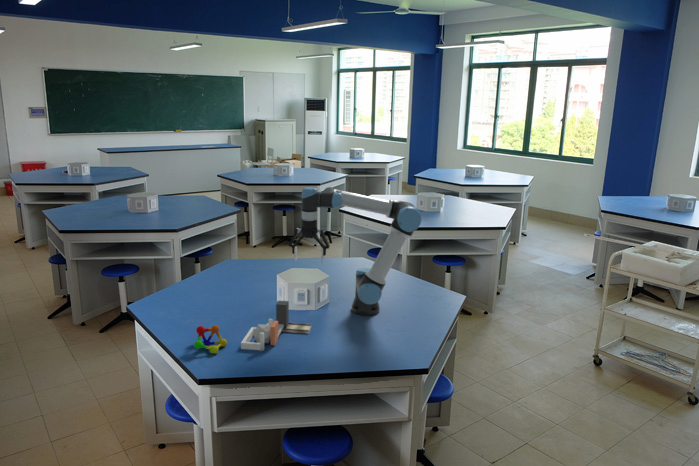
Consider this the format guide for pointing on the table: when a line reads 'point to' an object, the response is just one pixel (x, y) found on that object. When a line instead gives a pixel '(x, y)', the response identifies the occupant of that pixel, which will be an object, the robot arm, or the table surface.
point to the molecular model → (207, 343)
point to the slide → (297, 328)
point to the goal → (254, 345)
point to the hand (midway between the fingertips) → (309, 260)
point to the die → (265, 330)
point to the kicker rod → (279, 320)
